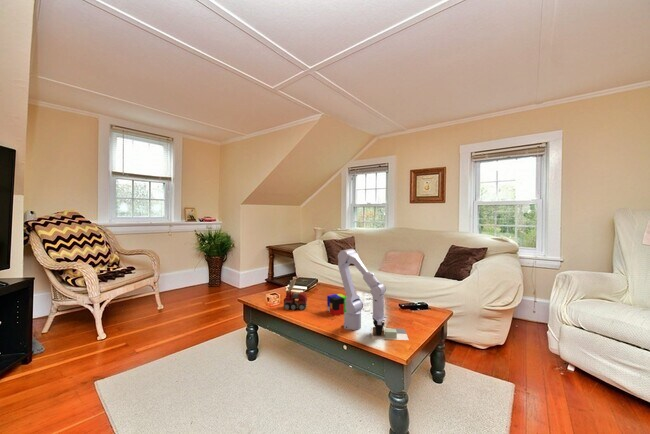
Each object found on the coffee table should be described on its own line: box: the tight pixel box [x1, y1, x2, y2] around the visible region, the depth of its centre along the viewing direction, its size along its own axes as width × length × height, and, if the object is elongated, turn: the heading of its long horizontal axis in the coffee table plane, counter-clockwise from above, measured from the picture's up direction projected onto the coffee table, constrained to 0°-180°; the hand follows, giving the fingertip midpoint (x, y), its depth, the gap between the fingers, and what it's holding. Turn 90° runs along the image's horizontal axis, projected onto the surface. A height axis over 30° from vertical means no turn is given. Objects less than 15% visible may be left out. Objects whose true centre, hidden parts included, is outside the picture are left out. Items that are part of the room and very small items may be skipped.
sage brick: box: [385, 328, 397, 338], centre depth 140 cm, size 6×4×3 cm
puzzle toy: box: [326, 293, 347, 316], centre depth 177 cm, size 10×10×10 cm
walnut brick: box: [372, 326, 385, 336], centre depth 142 cm, size 6×4×3 cm
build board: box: [370, 327, 410, 341], centre depth 143 cm, size 18×13×1 cm
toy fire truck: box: [283, 279, 308, 311], centre depth 187 cm, size 11×16×18 cm
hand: (378, 333), depth 142 cm, fingers closed on walnut brick, 4 cm apart
